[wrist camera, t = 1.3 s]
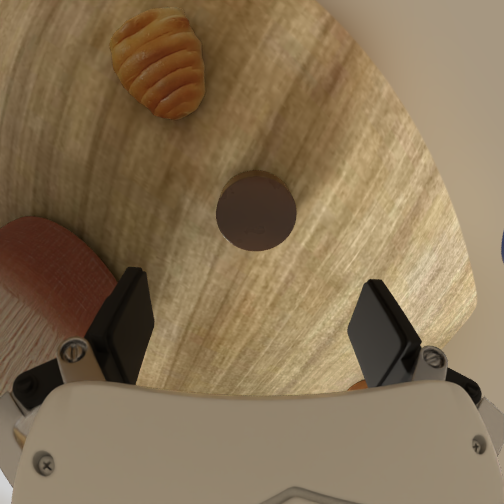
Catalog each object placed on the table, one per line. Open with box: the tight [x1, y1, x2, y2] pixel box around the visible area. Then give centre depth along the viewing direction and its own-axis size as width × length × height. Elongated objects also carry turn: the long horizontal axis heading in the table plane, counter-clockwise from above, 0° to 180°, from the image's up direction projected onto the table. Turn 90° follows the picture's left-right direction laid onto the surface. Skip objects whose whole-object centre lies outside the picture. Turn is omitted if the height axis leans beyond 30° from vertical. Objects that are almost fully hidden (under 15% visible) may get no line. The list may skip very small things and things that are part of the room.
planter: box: [0, 216, 118, 397], centre depth 18 cm, size 22×22×20 cm
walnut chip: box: [216, 170, 296, 251], centre depth 21 cm, size 6×6×2 cm
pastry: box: [109, 7, 206, 120], centre depth 15 cm, size 9×7×4 cm
